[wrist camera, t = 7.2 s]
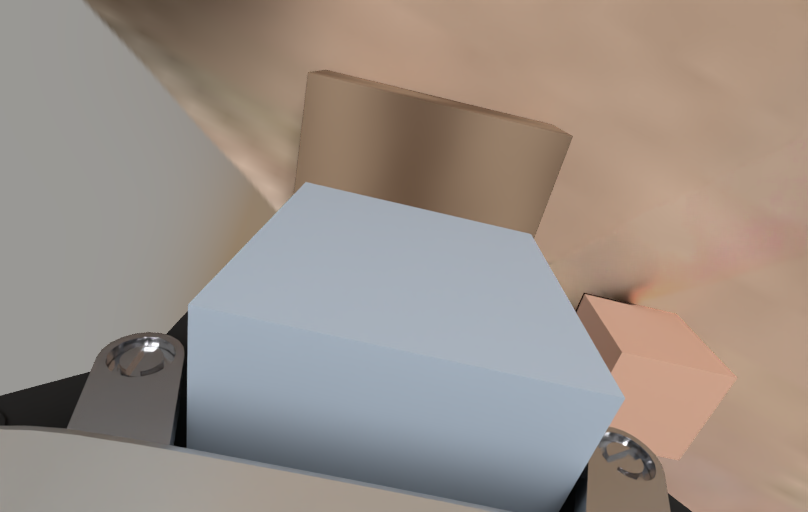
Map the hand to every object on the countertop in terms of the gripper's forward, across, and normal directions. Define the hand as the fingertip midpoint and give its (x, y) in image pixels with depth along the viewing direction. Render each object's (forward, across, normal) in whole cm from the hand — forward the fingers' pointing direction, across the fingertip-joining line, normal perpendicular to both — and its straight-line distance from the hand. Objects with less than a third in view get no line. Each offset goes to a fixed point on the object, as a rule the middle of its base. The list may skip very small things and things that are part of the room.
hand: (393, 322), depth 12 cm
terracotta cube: (+10, -12, +5) cm, 17 cm away
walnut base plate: (+10, 0, 0) cm, 10 cm away
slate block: (+1, 0, 0) cm, 1 cm away
